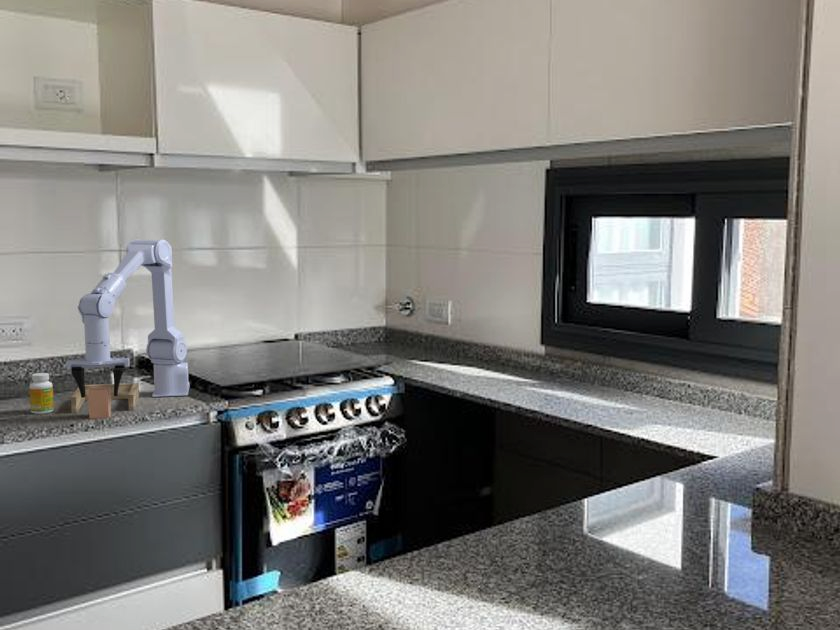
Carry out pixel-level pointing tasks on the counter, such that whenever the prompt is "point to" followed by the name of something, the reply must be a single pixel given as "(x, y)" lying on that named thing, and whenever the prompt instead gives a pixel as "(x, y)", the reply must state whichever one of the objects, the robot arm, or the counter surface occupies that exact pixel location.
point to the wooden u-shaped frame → (124, 392)
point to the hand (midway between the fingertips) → (99, 396)
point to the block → (99, 402)
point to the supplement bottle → (41, 394)
